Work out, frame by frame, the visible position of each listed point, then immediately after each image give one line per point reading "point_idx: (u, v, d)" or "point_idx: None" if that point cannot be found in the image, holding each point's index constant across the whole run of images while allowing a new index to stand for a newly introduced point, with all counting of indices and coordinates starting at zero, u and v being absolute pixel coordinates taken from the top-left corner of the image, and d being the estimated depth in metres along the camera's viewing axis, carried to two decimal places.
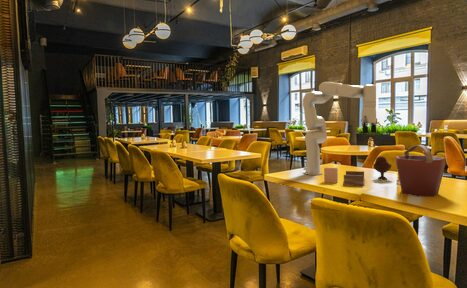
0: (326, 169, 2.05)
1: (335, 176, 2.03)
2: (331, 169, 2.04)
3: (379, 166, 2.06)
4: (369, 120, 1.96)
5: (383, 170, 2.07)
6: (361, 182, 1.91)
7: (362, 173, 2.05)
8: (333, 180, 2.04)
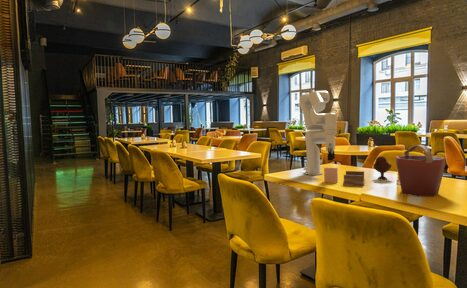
0: (326, 169, 2.05)
1: (335, 176, 2.03)
2: (331, 169, 2.04)
3: (379, 166, 2.06)
4: (333, 148, 2.00)
5: (383, 170, 2.07)
6: (361, 182, 1.91)
7: (362, 173, 2.05)
8: (333, 180, 2.04)
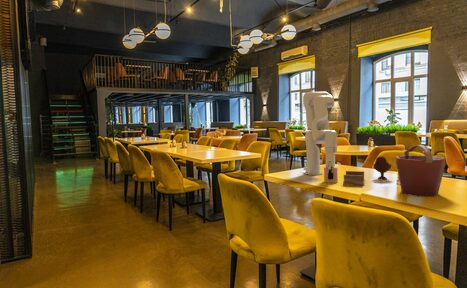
0: (326, 169, 2.05)
1: (335, 176, 2.03)
2: None
3: (379, 166, 2.06)
4: (333, 165, 2.01)
5: (383, 170, 2.07)
6: (361, 182, 1.91)
7: (362, 173, 2.05)
8: (333, 180, 2.04)
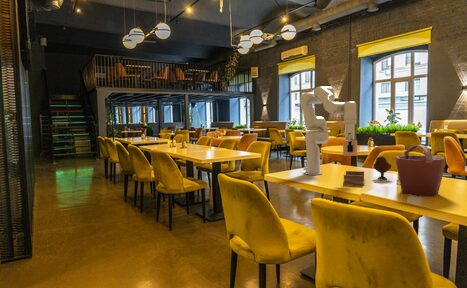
0: (345, 142, 1.99)
1: (354, 149, 1.97)
2: None
3: (379, 166, 2.06)
4: (353, 137, 1.95)
5: (383, 170, 2.07)
6: (361, 182, 1.91)
7: (362, 173, 2.05)
8: (352, 153, 1.98)
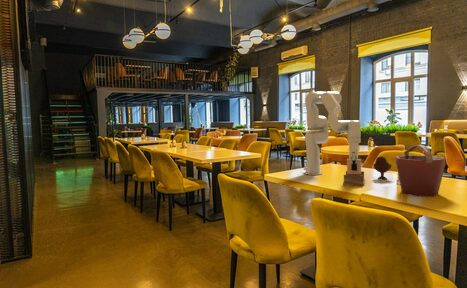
0: (349, 161, 1.99)
1: (358, 168, 1.97)
2: None
3: (379, 166, 2.06)
4: (357, 156, 1.95)
5: (383, 170, 2.07)
6: (361, 182, 1.91)
7: (362, 173, 2.05)
8: (356, 172, 1.98)
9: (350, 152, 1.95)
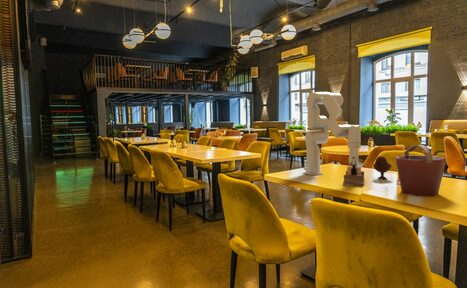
0: (349, 168, 2.00)
1: None
2: None
3: (379, 166, 2.06)
4: (357, 161, 1.95)
5: (383, 170, 2.07)
6: (361, 182, 1.91)
7: (362, 173, 2.05)
8: None
9: (350, 157, 1.96)
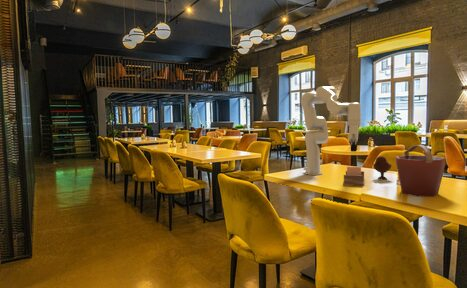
0: (349, 168, 2.00)
1: None
2: (354, 168, 1.98)
3: (379, 166, 2.06)
4: (357, 138, 1.95)
5: (383, 170, 2.07)
6: (361, 182, 1.91)
7: (362, 173, 2.05)
8: None
9: (350, 134, 1.95)
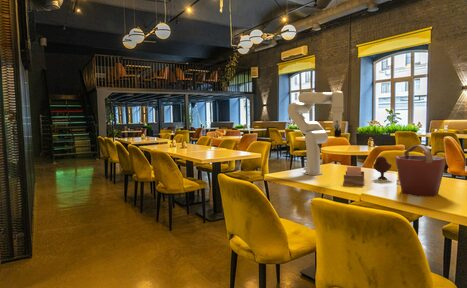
0: (349, 168, 2.00)
1: None
2: (354, 168, 1.98)
3: (379, 166, 2.06)
4: (340, 125, 2.10)
5: (383, 170, 2.07)
6: (361, 182, 1.91)
7: (362, 173, 2.05)
8: None
9: (333, 121, 2.11)
